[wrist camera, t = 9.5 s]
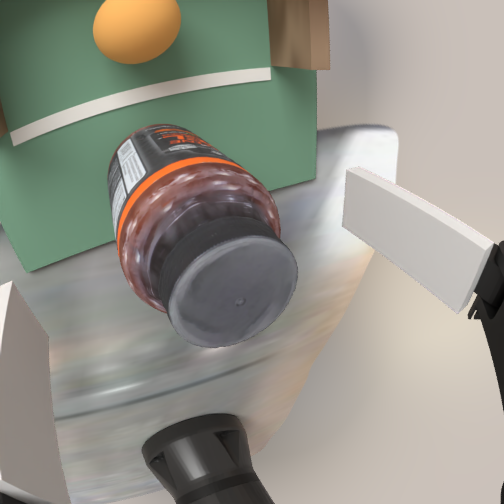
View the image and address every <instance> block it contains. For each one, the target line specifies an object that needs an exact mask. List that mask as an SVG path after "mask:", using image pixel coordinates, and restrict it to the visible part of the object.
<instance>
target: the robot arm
mask: <svg viewBox="0 0 504 504" xmlns="http://www.w3.org/2000/svg"><path fill="white" fill-rule="evenodd" d="M342 227H344V228H345V229H347V230H348V231H350V232H351V233H352V234H354V235H355V236H357V237H358V238H359V239H361V240H362V241H364V242H365V243H366V244H368V245H369V246H371V247H372V248H373V249H375V250H376V251H378V252H379V253H380V254H382V255H383V256H384V257H386V258H387V259H388V260H390V261H391V262H392V263H394V264H395V265H396V266H398V267H399V268H400V269H401V270H403V271H404V272H405V273H407V274H408V275H409V276H411V277H412V278H413V279H415V280H416V281H417V282H418V283H420V284H421V285H422V286H423V287H425V288H426V289H427V290H428V291H430V292H431V293H432V294H433V295H435V296H436V297H438V298H439V299H440V300H441V301H442V302H443V303H445V304H446V305H447V306H448V307H449V308H451V309H452V310H453V311H454V312H456V313H457V314H458V313H459V312H460V311H461V310H462V309H464V308H465V307H466V306H467V304H468V302H469V300H470V298H471V296H472V294H473V292H475V293H476V294H477V297H476V299H475V301H474V303H473V305H472V307H471V309H470V311H469V313H468V319H471V317H472V315H473V314H474V312H475V310H477V312H476V314H475V315H474V319H481V322H482V325H483V328H484V331H485V335H486V338H487V341H488V345H489V348H490V352H491V356H492V360H493V363H494V367H495V372H496V376H497V380H498V385H499V389H500V394H501V399H502V405H503V410H504V241H501V242H500V243H499V246H498V245H496V244H495V243H494V242H493V241H491V240H490V239H488V238H486V237H485V236H484V235H482V234H480V233H479V232H478V231H476V230H474V229H473V228H471V227H470V226H468V225H466V224H465V223H463V222H462V221H460V220H458V219H457V218H455V217H453V216H452V215H450V214H448V213H447V212H445V211H443V210H441V209H440V208H438V207H436V206H434V205H433V204H431V203H429V202H427V201H426V200H424V199H422V198H420V197H418V196H416V195H415V194H413V193H411V192H409V191H407V190H405V189H404V188H402V187H400V186H398V185H396V184H394V183H392V182H390V181H388V180H386V179H384V178H382V177H380V176H378V175H376V174H374V173H372V172H370V171H368V170H366V169H363V168H361V167H355V168H351V169H347V170H346V183H345V197H344V210H343V221H342ZM142 454H143V457H144V459H145V462H146V465H147V466H148V468H149V469H150V470H151V472H152V473H153V474H154V475H155V477H156V478H157V479H158V480H159V481H160V482H161V484H162V485H163V486H164V487H165V488H166V489H167V491H168V492H169V493H170V494H171V495H172V497H173V498H174V500H175V502H176V504H275V503H274V502H273V500H272V499H271V498H270V496H269V494H268V492H267V491H266V489H265V488H264V486H263V485H262V483H261V481H260V480H259V478H258V477H257V475H256V473H255V471H254V470H253V467H252V462H251V456H250V451H249V445H248V440H247V434H246V431H245V429H244V427H243V426H242V424H241V422H240V420H239V419H238V418H237V417H235V416H233V415H228V414H214V415H206V416H201V417H197V418H193V419H189V420H186V421H183V422H180V423H177V424H175V425H172V426H170V427H168V428H166V429H164V430H162V431H160V432H158V433H156V434H155V435H153V436H152V437H151V438H149V439H148V440H147V441H146V442H145V444H144V445H143V447H142ZM0 504H71V501H70V497H69V494H68V490H67V486H66V482H65V477H64V473H63V469H62V464H61V459H60V454H59V448H58V442H57V436H56V430H55V422H54V415H53V406H52V396H51V384H50V367H49V336H48V335H47V333H46V332H45V331H44V329H43V328H42V326H41V325H40V323H39V322H38V320H37V319H36V318H35V316H34V315H33V313H32V311H31V310H30V308H29V307H28V305H27V304H26V302H25V301H24V299H23V297H22V296H21V294H20V292H19V291H18V289H17V287H16V286H15V284H14V282H13V281H10V282H8V283H6V284H3V285H1V286H0ZM501 504H504V483H503V486H502V489H501Z"/></svg>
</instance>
